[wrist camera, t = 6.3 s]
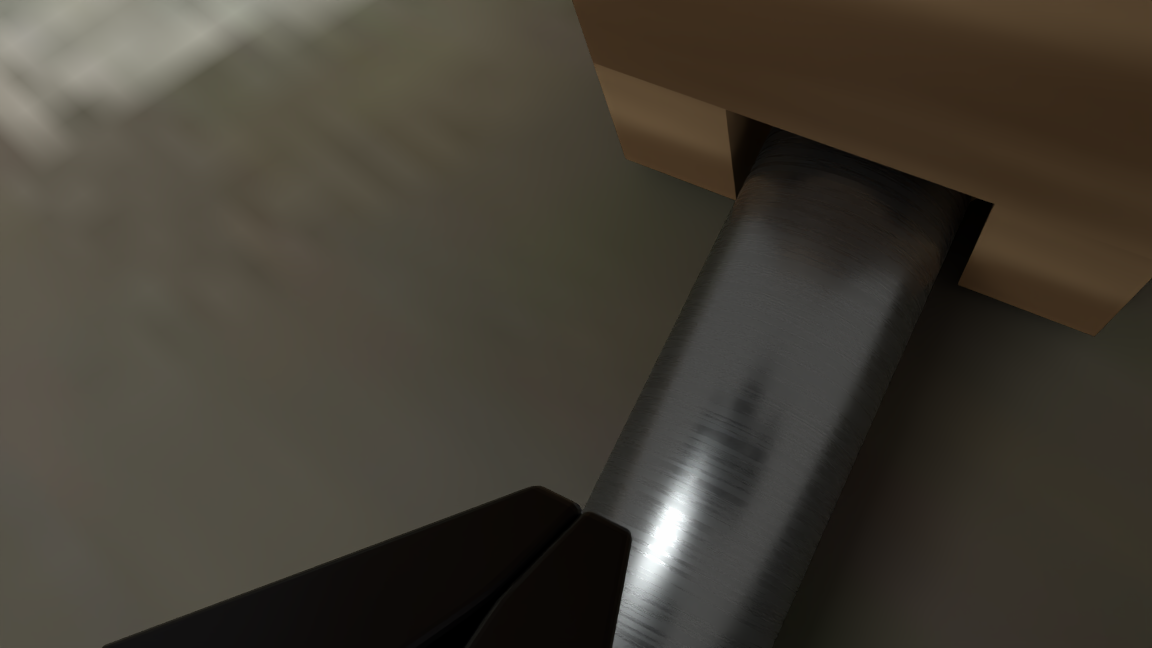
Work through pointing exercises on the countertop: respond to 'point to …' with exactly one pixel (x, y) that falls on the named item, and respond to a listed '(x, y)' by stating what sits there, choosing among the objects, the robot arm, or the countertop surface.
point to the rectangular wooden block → (916, 117)
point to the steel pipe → (768, 391)
